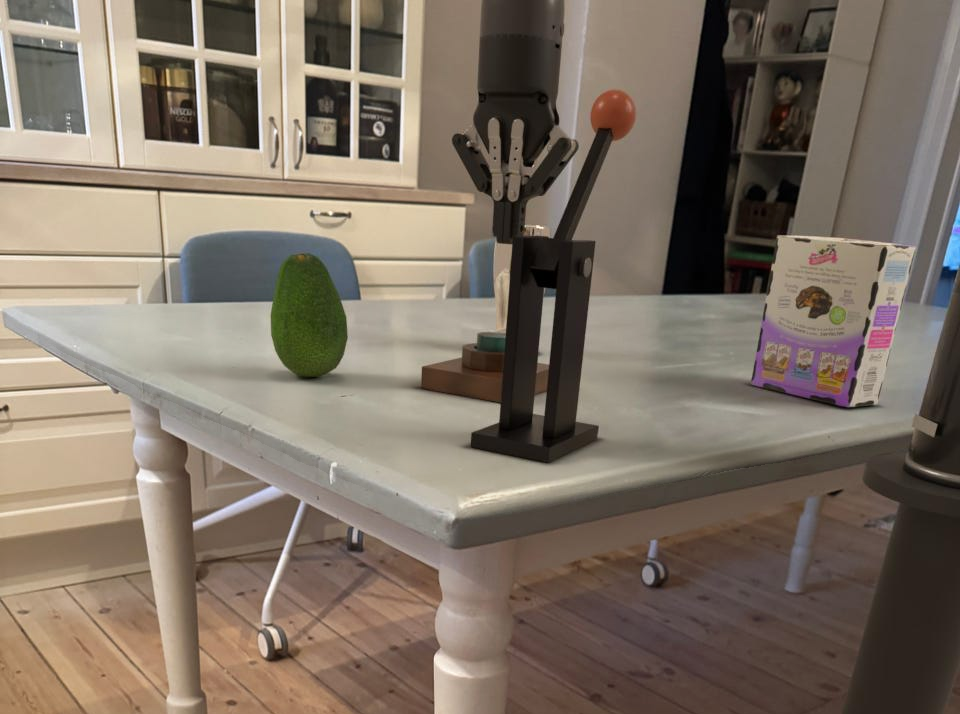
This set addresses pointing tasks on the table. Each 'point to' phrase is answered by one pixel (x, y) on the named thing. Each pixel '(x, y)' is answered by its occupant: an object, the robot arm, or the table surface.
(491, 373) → the button block
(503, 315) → the beer glass
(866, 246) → the candy box
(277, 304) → the avocado
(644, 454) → the table surface
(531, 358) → the bracket
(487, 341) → the button
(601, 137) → the lever
